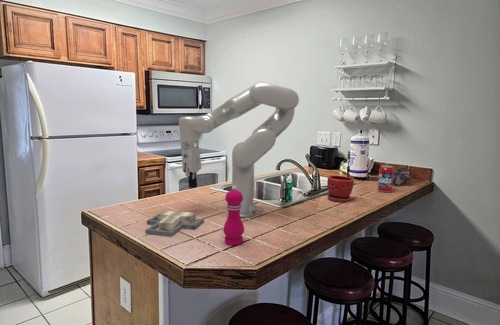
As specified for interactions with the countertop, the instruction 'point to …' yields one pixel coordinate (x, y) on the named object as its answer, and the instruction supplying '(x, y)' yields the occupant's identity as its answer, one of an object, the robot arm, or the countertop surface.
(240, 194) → the pepper mill
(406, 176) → the decorative flower
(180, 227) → the dock
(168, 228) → the t block
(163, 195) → the countertop surface
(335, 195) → the plant pot
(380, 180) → the soda can
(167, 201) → the countertop surface
